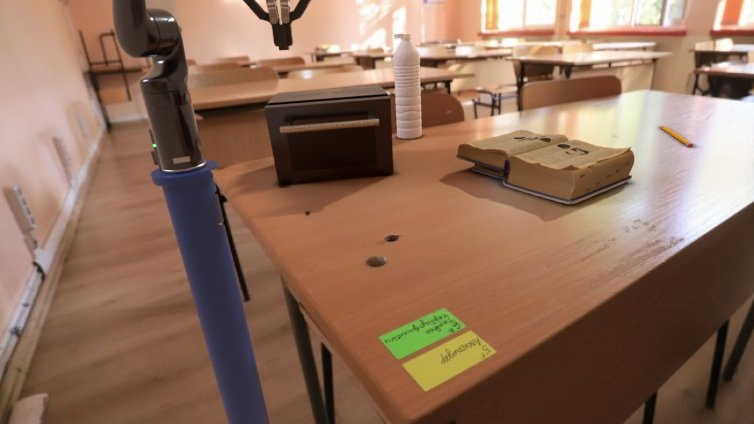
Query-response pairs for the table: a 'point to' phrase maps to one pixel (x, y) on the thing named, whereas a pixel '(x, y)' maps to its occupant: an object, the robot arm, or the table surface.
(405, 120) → the water bottle
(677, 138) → the pencil
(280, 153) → the oven door
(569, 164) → the book
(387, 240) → the table surface
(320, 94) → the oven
